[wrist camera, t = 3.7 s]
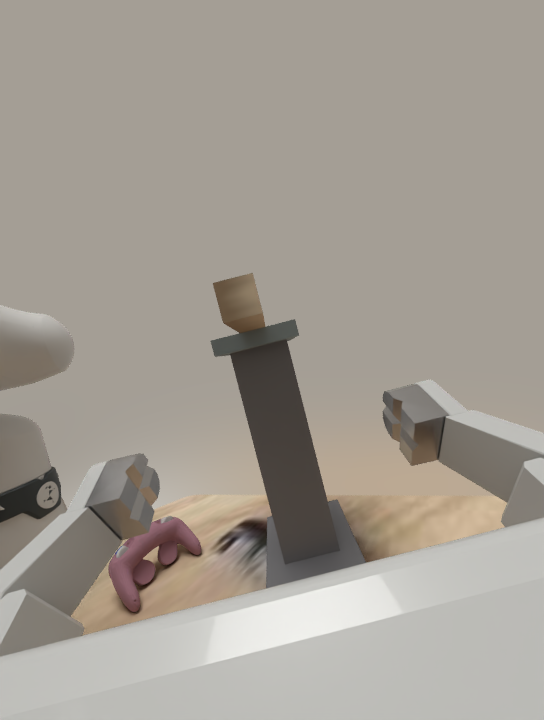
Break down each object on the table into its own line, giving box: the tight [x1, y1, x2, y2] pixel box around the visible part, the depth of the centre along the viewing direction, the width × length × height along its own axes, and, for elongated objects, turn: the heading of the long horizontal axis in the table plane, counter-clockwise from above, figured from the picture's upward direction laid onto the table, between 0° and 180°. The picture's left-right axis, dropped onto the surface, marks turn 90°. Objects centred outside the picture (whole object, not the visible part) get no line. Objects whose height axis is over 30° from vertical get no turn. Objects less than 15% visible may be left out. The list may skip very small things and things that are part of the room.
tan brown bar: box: [213, 273, 265, 333], centre depth 27 cm, size 2×22×2 cm, turn 1°
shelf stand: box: [211, 320, 366, 588], centre depth 31 cm, size 10×12×26 cm
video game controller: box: [108, 516, 201, 612], centre depth 34 cm, size 10×5×7 cm, turn 142°
